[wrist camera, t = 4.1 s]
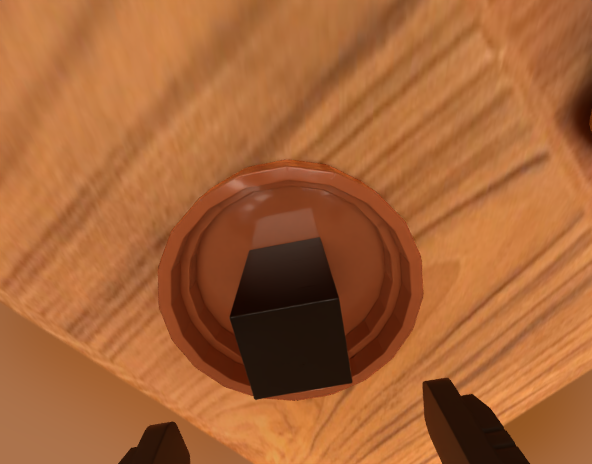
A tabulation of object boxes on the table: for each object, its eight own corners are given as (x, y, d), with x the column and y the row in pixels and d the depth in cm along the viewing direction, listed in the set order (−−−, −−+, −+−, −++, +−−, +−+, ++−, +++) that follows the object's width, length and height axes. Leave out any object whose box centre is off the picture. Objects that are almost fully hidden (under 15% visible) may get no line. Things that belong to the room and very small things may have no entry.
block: (264, 310, 20) (254, 400, 14) (248, 249, 19) (228, 317, 12) (331, 298, 20) (353, 383, 13) (320, 236, 19) (339, 297, 12)
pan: (214, 374, 22) (202, 417, 19) (147, 185, 18) (115, 198, 14) (406, 341, 22) (428, 379, 19) (391, 137, 17) (416, 140, 14)
